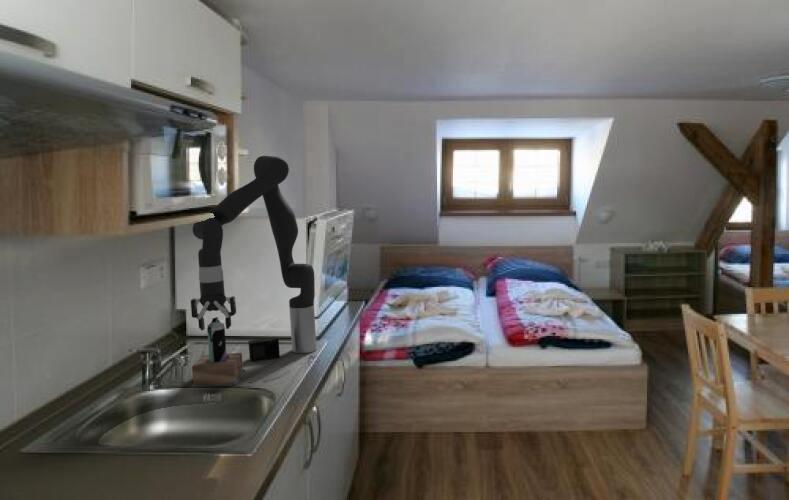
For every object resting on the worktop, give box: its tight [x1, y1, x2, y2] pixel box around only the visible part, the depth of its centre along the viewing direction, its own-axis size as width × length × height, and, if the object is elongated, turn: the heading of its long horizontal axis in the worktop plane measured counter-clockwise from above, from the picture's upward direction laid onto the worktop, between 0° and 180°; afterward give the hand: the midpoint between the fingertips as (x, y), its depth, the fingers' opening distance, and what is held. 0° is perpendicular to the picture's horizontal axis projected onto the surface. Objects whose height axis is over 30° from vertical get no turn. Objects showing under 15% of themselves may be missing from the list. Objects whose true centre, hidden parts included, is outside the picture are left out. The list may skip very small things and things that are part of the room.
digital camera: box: [248, 337, 281, 362], centre depth 223 cm, size 10×5×7 cm, turn 112°
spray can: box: [206, 317, 228, 363], centre depth 200 cm, size 6×6×20 cm
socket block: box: [191, 352, 246, 389], centre depth 201 cm, size 14×14×7 cm
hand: (215, 329), depth 199 cm, fingers open, 7 cm apart
